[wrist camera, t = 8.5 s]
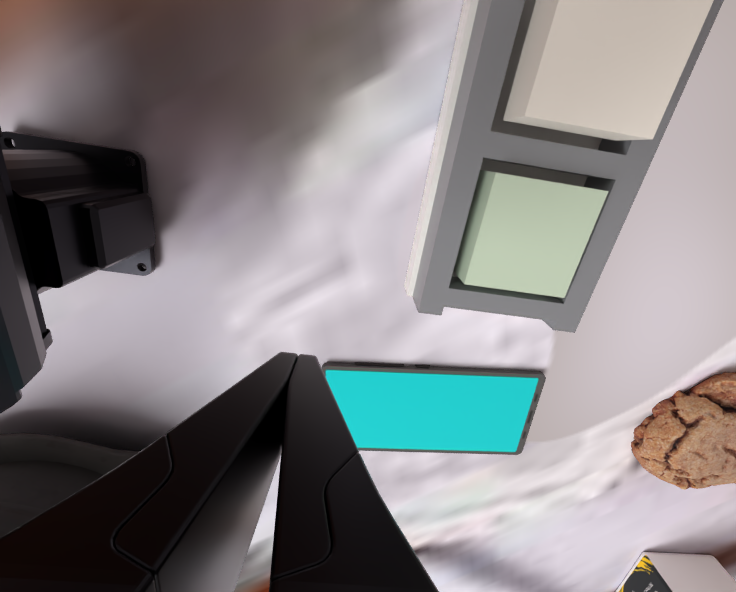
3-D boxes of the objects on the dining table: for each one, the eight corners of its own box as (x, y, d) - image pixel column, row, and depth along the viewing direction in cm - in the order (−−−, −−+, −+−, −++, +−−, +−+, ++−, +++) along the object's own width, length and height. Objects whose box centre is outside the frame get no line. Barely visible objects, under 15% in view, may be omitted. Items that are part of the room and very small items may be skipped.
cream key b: (615, 140, 14) (652, 139, 13) (502, 120, 14) (524, 116, 12) (674, -8, 12) (729, -35, 11) (545, -36, 12) (579, -70, 10)
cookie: (611, 412, 25) (643, 445, 22) (765, 343, 23) (821, 370, 20) (647, 489, 29) (677, 525, 26) (783, 435, 26) (833, 468, 24)
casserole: (3, 586, 31) (-112, 728, 24) (-145, 435, 24) (-385, 571, 16) (270, 555, 30) (240, 693, 23) (200, 389, 23) (121, 510, 15)
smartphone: (521, 455, 26) (320, 449, 25) (516, 446, 26) (321, 440, 26) (547, 373, 23) (321, 364, 22) (541, 366, 23) (322, 357, 23)
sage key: (543, 282, 18) (564, 298, 16) (453, 270, 18) (464, 284, 16) (580, 186, 16) (608, 191, 14) (480, 169, 16) (495, 172, 14)
